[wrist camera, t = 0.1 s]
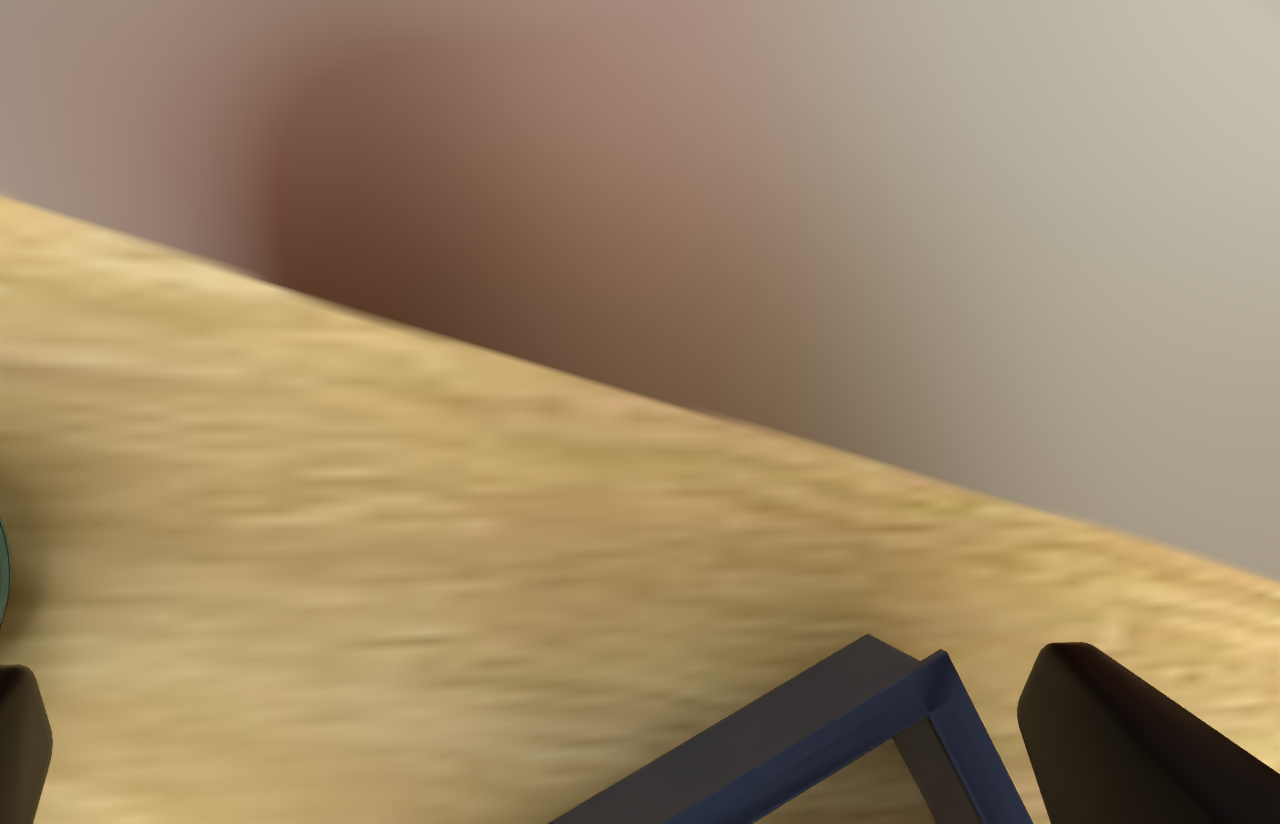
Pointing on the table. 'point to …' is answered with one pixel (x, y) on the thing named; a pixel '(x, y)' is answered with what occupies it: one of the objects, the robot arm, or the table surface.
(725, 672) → the table surface
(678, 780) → the dark blue square tray
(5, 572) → the beverage bottle
